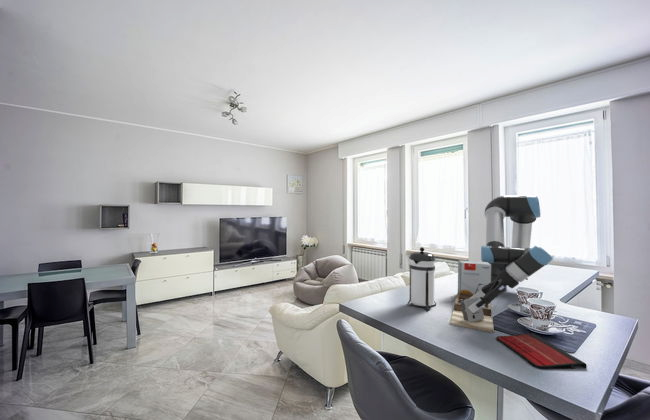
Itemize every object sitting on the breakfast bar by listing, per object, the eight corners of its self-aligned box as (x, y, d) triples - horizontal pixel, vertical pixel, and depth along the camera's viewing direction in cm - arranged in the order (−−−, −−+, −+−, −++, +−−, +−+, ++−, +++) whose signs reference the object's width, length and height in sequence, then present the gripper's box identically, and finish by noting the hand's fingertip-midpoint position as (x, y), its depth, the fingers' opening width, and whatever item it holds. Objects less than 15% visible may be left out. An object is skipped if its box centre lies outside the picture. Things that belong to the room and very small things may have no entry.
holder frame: (457, 298, 152) (457, 292, 152) (489, 303, 144) (489, 296, 144) (454, 310, 133) (454, 303, 133) (491, 317, 126) (491, 309, 126)
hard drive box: (459, 298, 153) (459, 262, 153) (457, 294, 160) (457, 260, 160) (491, 300, 148) (491, 264, 148) (487, 296, 156) (487, 261, 156)
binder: (533, 332, 106) (587, 362, 85) (533, 338, 106) (587, 370, 85) (492, 334, 105) (537, 366, 84) (493, 340, 105) (537, 373, 84)
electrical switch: (470, 323, 116) (468, 300, 117) (459, 320, 121) (458, 298, 122) (484, 319, 120) (483, 298, 121) (474, 316, 125) (472, 295, 126)
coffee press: (444, 311, 133) (444, 249, 133) (411, 310, 133) (411, 249, 133) (431, 299, 150) (431, 245, 150) (402, 299, 150) (402, 244, 150)
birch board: (453, 312, 131) (453, 310, 131) (492, 318, 123) (492, 316, 123) (450, 324, 118) (450, 321, 118) (493, 332, 110) (493, 330, 110)
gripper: (524, 290, 101) (477, 322, 108) (516, 276, 122) (478, 304, 130) (506, 274, 104) (462, 306, 111) (502, 263, 125) (466, 291, 133)
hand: (471, 305), depth 121 cm, fingers open, 13 cm apart
